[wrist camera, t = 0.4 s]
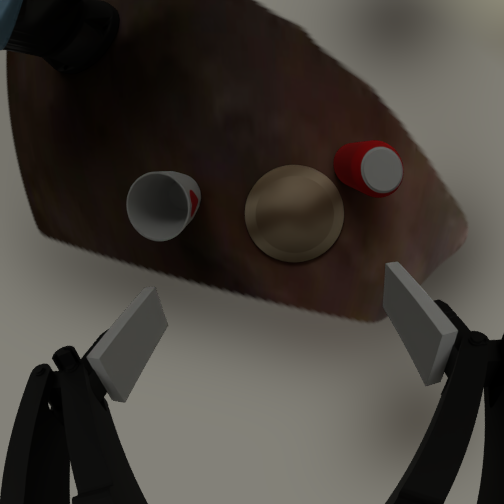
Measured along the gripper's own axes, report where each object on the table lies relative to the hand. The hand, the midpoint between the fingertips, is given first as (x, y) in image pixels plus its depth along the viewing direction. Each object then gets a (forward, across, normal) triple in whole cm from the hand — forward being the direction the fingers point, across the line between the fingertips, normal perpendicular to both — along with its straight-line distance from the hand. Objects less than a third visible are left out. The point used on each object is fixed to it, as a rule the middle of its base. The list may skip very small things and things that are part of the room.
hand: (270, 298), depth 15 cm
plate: (+26, +3, -1) cm, 26 cm away
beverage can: (+26, +12, +5) cm, 29 cm away
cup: (+26, -13, +4) cm, 29 cm away
